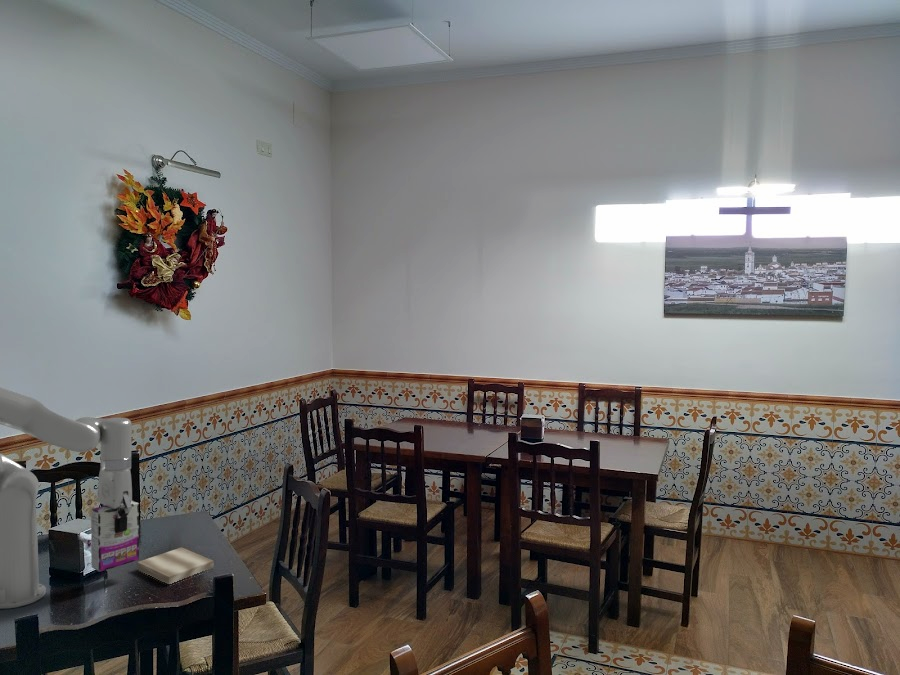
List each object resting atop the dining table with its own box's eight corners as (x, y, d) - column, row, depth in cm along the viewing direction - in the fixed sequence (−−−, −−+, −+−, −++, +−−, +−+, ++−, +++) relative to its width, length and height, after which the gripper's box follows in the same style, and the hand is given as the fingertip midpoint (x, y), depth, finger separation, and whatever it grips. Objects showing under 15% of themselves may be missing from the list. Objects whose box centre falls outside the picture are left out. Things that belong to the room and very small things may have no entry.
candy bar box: (130, 555, 193) (131, 498, 192) (139, 560, 190) (140, 502, 189) (89, 567, 184) (90, 507, 183) (98, 572, 181) (99, 512, 180)
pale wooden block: (169, 587, 186) (169, 577, 185) (137, 572, 195) (137, 561, 195) (213, 570, 197) (213, 560, 197) (181, 556, 206) (181, 547, 206)
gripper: (86, 460, 187) (85, 525, 188) (119, 472, 177) (118, 540, 178) (113, 455, 193) (112, 518, 194) (146, 466, 183) (145, 533, 184)
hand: (115, 528), depth 186 cm, fingers closed on candy bar box, 5 cm apart
